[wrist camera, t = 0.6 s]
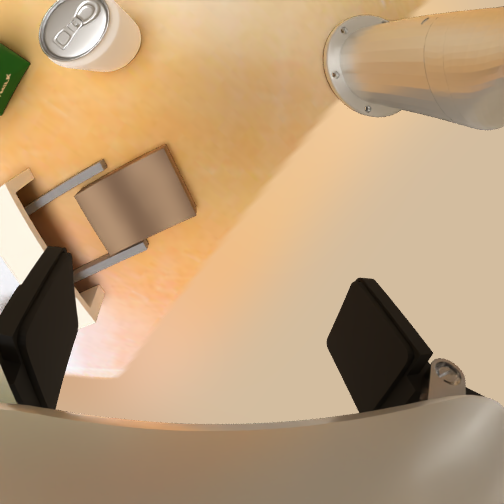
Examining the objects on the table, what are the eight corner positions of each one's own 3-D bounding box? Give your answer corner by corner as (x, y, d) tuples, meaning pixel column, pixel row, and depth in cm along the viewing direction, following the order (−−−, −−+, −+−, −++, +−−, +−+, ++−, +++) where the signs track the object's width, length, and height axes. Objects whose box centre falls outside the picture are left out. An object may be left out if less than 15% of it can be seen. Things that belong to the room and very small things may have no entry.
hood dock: (88, 129, 29) (69, 138, 24) (163, 268, 39) (159, 297, 34) (-3, 191, 30) (-27, 209, 25) (72, 307, 40) (61, 336, 34)
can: (154, 39, 26) (134, 15, 16) (110, 84, 28) (70, 84, 17) (114, 5, 23) (78, -29, 13) (72, 50, 25) (19, 39, 14)
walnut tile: (165, 143, 32) (163, 148, 30) (195, 205, 36) (196, 215, 34) (82, 187, 33) (74, 196, 30) (115, 243, 37) (110, 255, 34)
